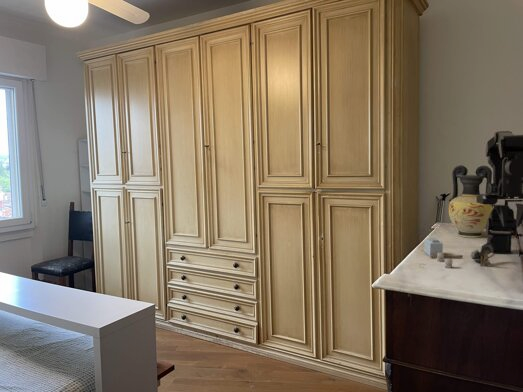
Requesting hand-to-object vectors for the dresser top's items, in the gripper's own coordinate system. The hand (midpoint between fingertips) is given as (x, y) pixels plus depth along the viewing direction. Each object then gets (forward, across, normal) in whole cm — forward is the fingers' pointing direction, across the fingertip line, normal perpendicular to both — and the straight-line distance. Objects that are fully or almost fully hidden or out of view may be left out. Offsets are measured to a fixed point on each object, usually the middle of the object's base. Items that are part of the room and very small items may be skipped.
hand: (510, 226), depth 126 cm
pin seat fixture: (+12, +17, -5) cm, 21 cm away
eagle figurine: (+12, +7, -1) cm, 14 cm away
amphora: (+12, -6, -48) cm, 49 cm away
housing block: (+12, +20, -12) cm, 26 cm away
